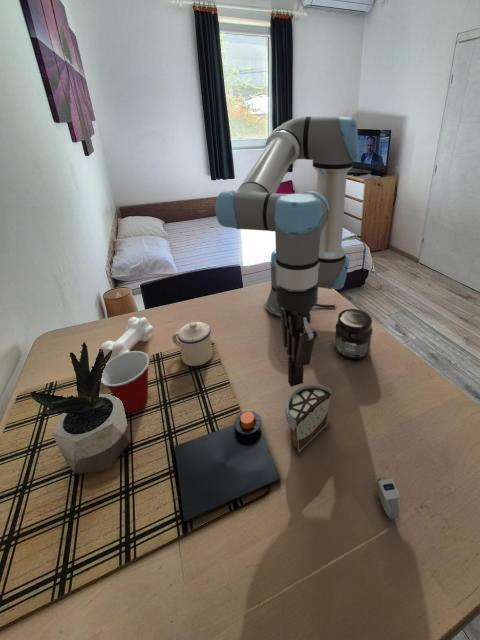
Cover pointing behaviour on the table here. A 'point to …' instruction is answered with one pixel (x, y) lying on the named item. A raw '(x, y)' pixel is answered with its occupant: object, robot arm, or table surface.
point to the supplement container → (353, 335)
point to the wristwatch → (389, 496)
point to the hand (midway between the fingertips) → (295, 382)
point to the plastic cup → (128, 379)
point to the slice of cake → (307, 413)
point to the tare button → (247, 420)
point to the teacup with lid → (194, 343)
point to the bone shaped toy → (129, 337)
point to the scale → (223, 468)
